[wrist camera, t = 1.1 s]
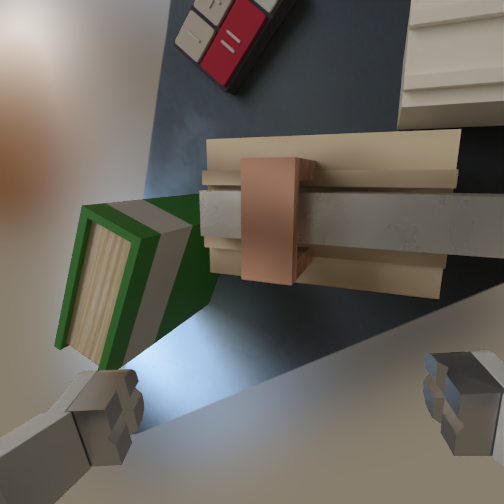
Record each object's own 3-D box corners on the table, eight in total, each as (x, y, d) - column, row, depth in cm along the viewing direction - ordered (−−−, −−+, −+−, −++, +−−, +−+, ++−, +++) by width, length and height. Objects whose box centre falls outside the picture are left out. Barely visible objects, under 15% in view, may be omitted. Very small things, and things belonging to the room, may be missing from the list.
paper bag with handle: (295, 156, 48) (160, 130, 20) (420, 154, 42) (487, 112, 14) (293, 226, 50) (170, 294, 22) (412, 232, 45) (454, 337, 16)
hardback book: (208, 304, 59) (102, 380, 37) (174, 284, 61) (54, 345, 39) (243, 212, 53) (141, 239, 31) (204, 193, 55) (82, 205, 33)
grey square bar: (220, 187, 25) (198, 189, 22) (665, 194, 16) (725, 198, 13) (221, 230, 26) (200, 237, 23) (647, 258, 17) (701, 276, 14)
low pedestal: (403, 60, 41) (412, -8, 26) (547, 44, 36) (664, -52, 21) (397, 130, 43) (401, 105, 27) (533, 124, 38) (631, 90, 22)
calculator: (168, 42, 48) (227, -75, 41) (186, 51, 52) (242, -55, 45) (223, 92, 47) (292, -22, 40) (236, 97, 50) (302, -6, 44)
